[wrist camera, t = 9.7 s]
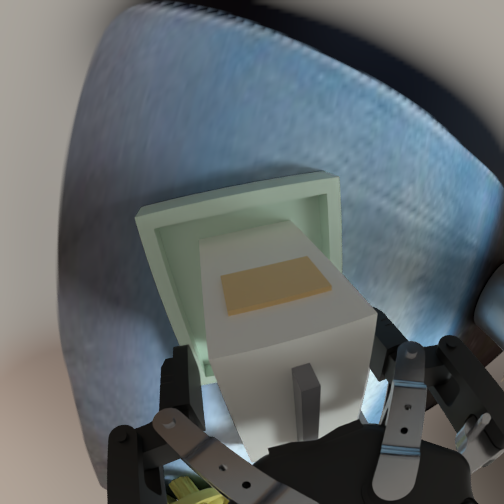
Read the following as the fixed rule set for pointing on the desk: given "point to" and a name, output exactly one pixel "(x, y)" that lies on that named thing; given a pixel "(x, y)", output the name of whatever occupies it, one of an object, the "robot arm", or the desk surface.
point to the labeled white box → (283, 335)
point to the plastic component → (193, 493)
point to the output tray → (222, 222)
